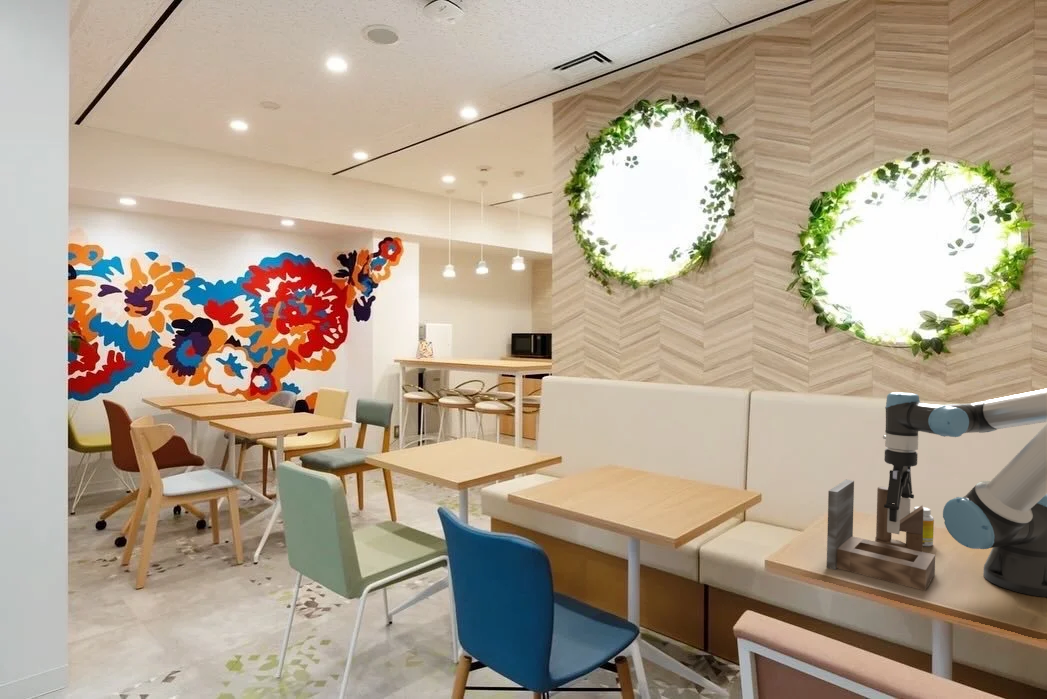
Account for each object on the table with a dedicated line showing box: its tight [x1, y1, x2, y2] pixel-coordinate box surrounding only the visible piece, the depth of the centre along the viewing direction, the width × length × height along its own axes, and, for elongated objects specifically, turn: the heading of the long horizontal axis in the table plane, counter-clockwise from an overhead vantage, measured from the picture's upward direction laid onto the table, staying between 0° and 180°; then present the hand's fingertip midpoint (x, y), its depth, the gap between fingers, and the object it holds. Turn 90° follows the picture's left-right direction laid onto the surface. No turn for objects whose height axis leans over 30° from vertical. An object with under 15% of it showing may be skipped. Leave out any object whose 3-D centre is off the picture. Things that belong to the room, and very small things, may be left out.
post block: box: [826, 479, 936, 592], centre depth 149 cm, size 21×16×20 cm
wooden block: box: [874, 486, 924, 552], centre depth 159 cm, size 4×11×18 cm, turn 59°
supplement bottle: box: [913, 506, 935, 547], centre depth 168 cm, size 6×6×10 cm
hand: (898, 526), depth 159 cm, fingers open, 13 cm apart
